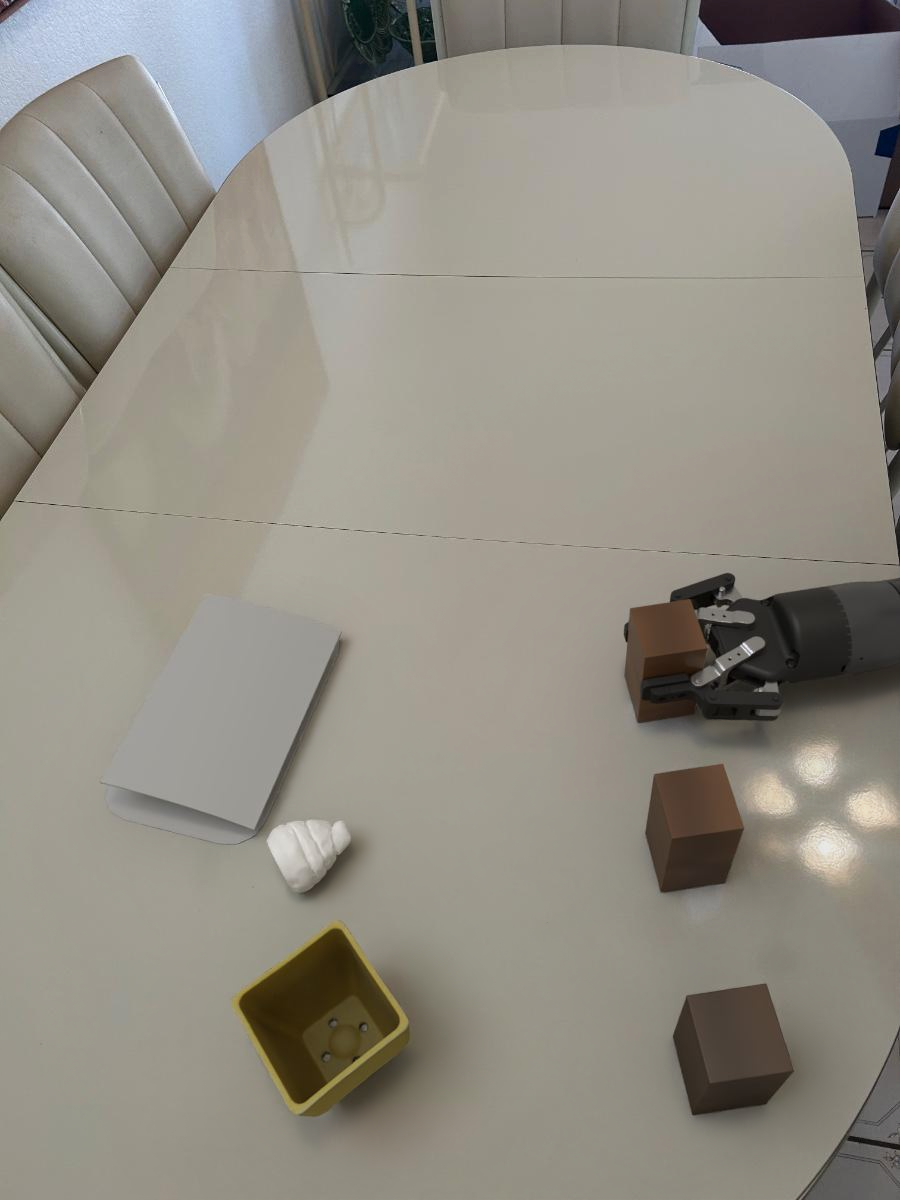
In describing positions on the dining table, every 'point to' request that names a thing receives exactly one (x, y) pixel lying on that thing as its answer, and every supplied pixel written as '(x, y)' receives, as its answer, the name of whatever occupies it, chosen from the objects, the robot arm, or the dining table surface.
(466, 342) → the dining table surface
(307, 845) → the white swirl cone
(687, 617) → the walnut block far
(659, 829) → the walnut block middle
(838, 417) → the dining table surface
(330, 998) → the flower pot
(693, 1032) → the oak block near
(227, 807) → the book
